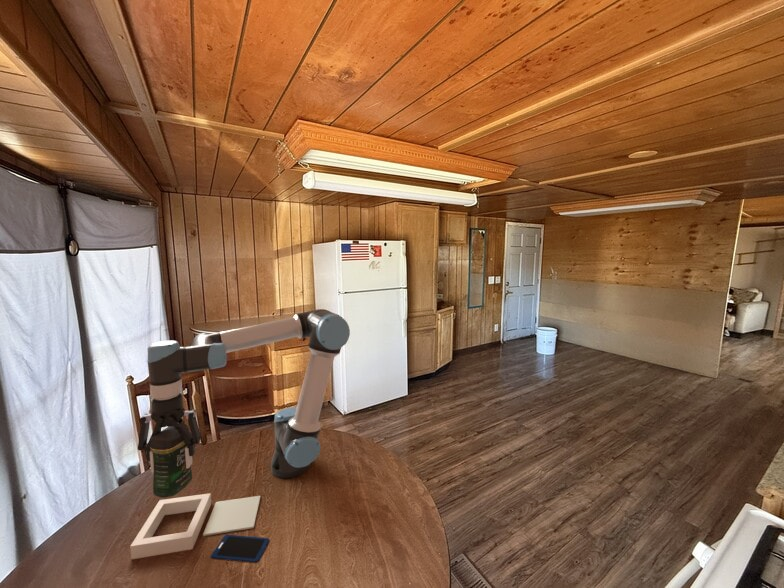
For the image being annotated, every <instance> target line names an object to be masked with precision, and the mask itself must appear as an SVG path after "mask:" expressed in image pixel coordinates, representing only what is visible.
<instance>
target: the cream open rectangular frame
mask: <svg viewBox="0 0 784 588" xmlns="http://www.w3.org/2000/svg"><path fill="white" fill-rule="evenodd" d="M211 505H212V494H211V492H210V493H202V494H195V495H188V496H179V497H174V498H173V497H172V498H167V499H159V501H158V502H157V504H156V505H155V507H154V509H152V511H151V513H150V514H149V516H148V518H147V519H146V520H145V522H144V524H143V525H142V527H141V529H140V530H139V532H138V533H137V535H136V537H135V538H134V540H133V541H132V543H131V544H130V546H129V547H130V559H131V560H136V559H137V560H138V559H142V558H148V557H154V556H159V555H164V554H165V555H166V554H171V553H178V552H184V551H190V550H194V547H195V545H196V543H197V540H198V537H199V534H200V532H201V529H202V527H203V524H205V520H206V517H207V515H208V513H209V510H210V508H211ZM189 512H194V515H193V517H192V520H191V521H190V524H189V526H188V528H187V530H186V531H182V532H178V533H177V532H176V533H171V534H164V535H158V536H154V534H155V533H156V531H157V529H158V527H159V525H160V524H161V522H162V521H163V518H164V517H165V516H168V515H169V516H170V515H176V514H182V513H183V514H184V513H189Z"/></svg>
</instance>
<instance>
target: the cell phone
mask: <svg viewBox="0 0 784 588" xmlns="http://www.w3.org/2000/svg"><path fill="white" fill-rule="evenodd" d="M269 542H270V539H269V538H267V537H259V536H247V535H235V534H225V535H224V536H223V537H222V539H221V540H220V542H219V543H218V545H217V546H216V547H215V549H214V550H213V552H212V553H211V554H210V558H211V559H218V560H224V561H225V560H226V561H236V562H244V563H258V562H259V561H260V560H261V557H262V556H263V554H264V553H265V550H266V549H267V546H268V544H269Z"/></svg>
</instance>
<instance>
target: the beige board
mask: <svg viewBox="0 0 784 588" xmlns="http://www.w3.org/2000/svg"><path fill="white" fill-rule="evenodd" d="M261 497H262V496H261V495H256V496H248V497H242V498H236V499H233V498H232V499H226V500H220V501H216V502H215V503H214V506H213V509H212V512H211V514H210V516H209V519H208V521H207V523H206V526H205V529H204V531H203V534H202V536H203V537H207V536H213V535H218V534H220V535H221V534H224V533H225V534H226V533H230V532H231V533H232V532H236V531H237V532H239V531H242V530H243V531H244V530H248V529H249V530H250V529H254V528H255V523H256V519H257V514H258V511H259V506H260V501H261Z"/></svg>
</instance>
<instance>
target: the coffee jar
mask: <svg viewBox="0 0 784 588" xmlns="http://www.w3.org/2000/svg"><path fill="white" fill-rule="evenodd" d="M184 424H185V423H184ZM185 425H186V427H187V428H188V430H189V431H190V427H189V425H187V424H185ZM186 446H187V444H186V442H185V441H184V439H183V436H182V434H180V433H179V432H178V430H177V429H175V428H174V426H172V427H170V426H167V427H164V429H161V431H160V432H159V433H158V434H157V435H155V436H153V437H152V438H151V446H150V448H151V451H152V453H153V458H154V473H153V481H152V482H153V484H152V485H153V487H152V491H153V495H154V496H156V497H159V498H170V497H173V496H176V495H177V494H179V493H180V492H181V491H182V490H183V489H185V488H186V487H188V485H189V484H190V483H191V481H192V479H193V472H192V465H191V466H190V467H189V468H186V457H185V447H186Z"/></svg>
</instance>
